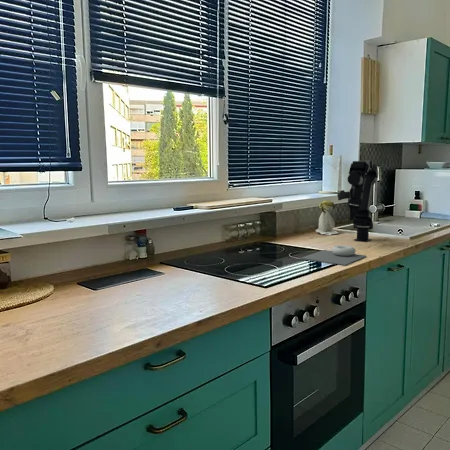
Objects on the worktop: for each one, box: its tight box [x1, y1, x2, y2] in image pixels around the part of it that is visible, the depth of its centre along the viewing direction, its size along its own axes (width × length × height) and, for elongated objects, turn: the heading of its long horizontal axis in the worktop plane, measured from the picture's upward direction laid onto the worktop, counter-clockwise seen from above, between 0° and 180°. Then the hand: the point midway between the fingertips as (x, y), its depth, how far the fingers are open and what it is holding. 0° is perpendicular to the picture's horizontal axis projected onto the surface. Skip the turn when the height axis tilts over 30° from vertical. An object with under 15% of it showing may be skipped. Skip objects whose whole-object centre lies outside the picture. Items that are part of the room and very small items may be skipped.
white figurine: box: [315, 200, 340, 236], centre depth 247 cm, size 12×13×18 cm
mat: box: [300, 249, 367, 267], centre depth 189 cm, size 20×20×1 cm
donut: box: [331, 244, 357, 256], centre depth 193 cm, size 10×4×10 cm
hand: (350, 220), depth 211 cm, fingers closed
